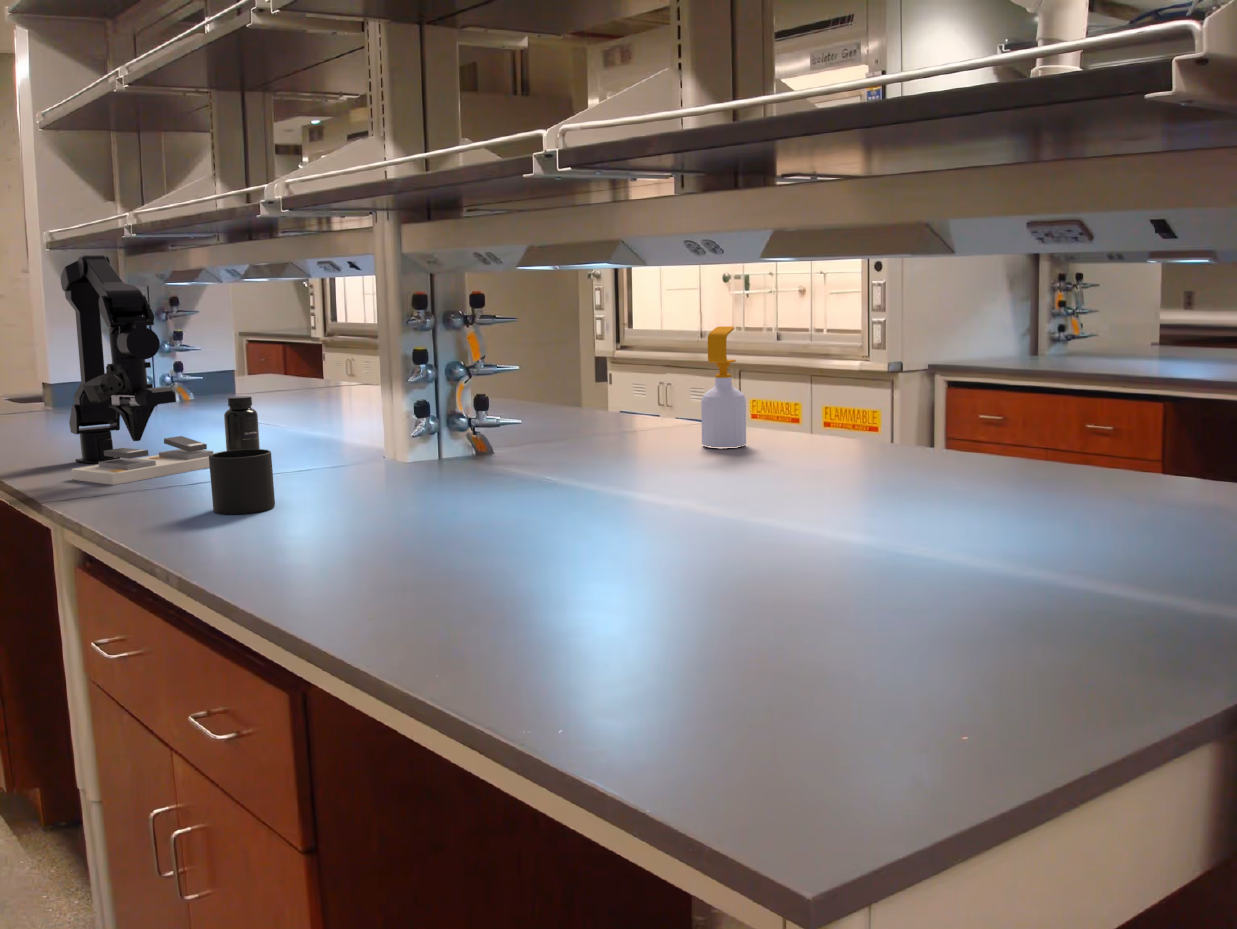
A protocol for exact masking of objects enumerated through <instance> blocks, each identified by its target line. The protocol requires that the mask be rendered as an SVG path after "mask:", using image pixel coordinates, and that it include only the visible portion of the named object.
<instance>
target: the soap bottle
mask: <svg viewBox="0 0 1237 929" xmlns="http://www.w3.org/2000/svg"><path fill="white" fill-rule="evenodd" d="M734 330H735V327H734V326H716V327H715V328H714V329H712V330H711V331H710V332H709V333H708V335H707V360H708V363H710V364H711V363H712V364H715V363H716V365H715V366H716V368H718V369H719V370H718V373H717V374H715V375H714V377H715V378H714V386H713V387H712V388H710V389H709V390H707V391H706V392H705V393H703V395H702V397H701V402H700V403H701V404H700V407H701V411H700V412H701V445H702V444H703V445H706V446H711V447H737V446H742V445H744V444H746V445H747V405H746V404H747V399H746V396H745V394H744V393H743V392H742V391H741V390H739V389H738V388H736V387H735V386H733V385H732V374H730V373H728V368H730V367H731V364H732V363H736V361H737V360H736V359H728V358H727V339H728V336H729V335H730V333H732V332H734Z"/></svg>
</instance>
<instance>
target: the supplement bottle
mask: <svg viewBox="0 0 1237 929" xmlns="http://www.w3.org/2000/svg"><path fill="white" fill-rule="evenodd" d="M252 405H253V400H252V396H250V395H249V396H246V395H245V396H242V395H241V396H230V397H228V398H227V407H229V408H228V410H226V411H225V412H224V415H223V418H224V433H225V436H224V438H225V446H226V448H225V449H226V450H225V451H230V450H241V449H261V447H260V431H259V415H258V412H257V410H255V409H254V408H253V407H252Z"/></svg>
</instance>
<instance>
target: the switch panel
mask: <svg viewBox="0 0 1237 929" xmlns="http://www.w3.org/2000/svg"><path fill="white" fill-rule="evenodd" d="M214 453H215V452H214V451H213V450H207V449H205V450H199V451H193V452H188V451H185V450H182V449H179V448H176V449H172V450H165V451H159V452H158V454H156V455H155V454H154V455H151V456H150V455H149V456H142V457H136V458H130V459H129V458H121V459H115V460H108V461H102V462H98V464H95V465H90V466H89V465H88V466H82V467H76V468H71V477H72V478H71V479H72V480H73V481H81V482H88V483H96V484H103V485H109V486H110V485H111V486H114V485H123V484H126V483H127V484H128V483H132V482H138V481H142V480H149V479H154V478H160V477H165V476H171V475H177V474H183V473H188V472H193V471H197V470H199V471H200V470H204V468H205V469H210V466H209V455H211V454H214Z"/></svg>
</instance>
